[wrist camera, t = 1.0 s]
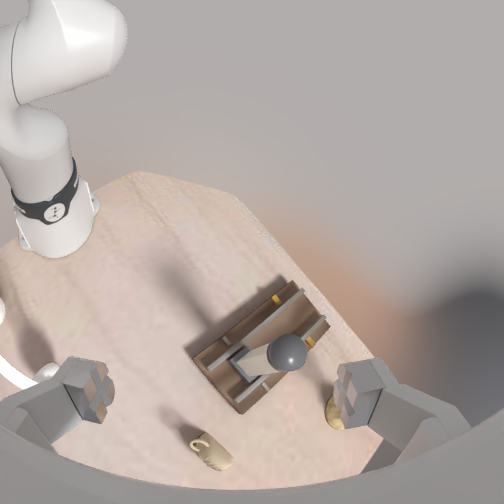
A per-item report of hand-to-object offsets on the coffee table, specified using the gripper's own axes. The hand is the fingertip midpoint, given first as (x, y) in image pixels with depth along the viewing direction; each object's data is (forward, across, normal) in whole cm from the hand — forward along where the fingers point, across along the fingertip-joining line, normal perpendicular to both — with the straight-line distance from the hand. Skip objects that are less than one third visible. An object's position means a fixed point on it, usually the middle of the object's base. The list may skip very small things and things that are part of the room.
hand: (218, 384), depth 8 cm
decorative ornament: (+18, +5, +33) cm, 38 cm away
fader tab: (+28, -1, +22) cm, 36 cm away
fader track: (+34, -5, +22) cm, 40 cm away
